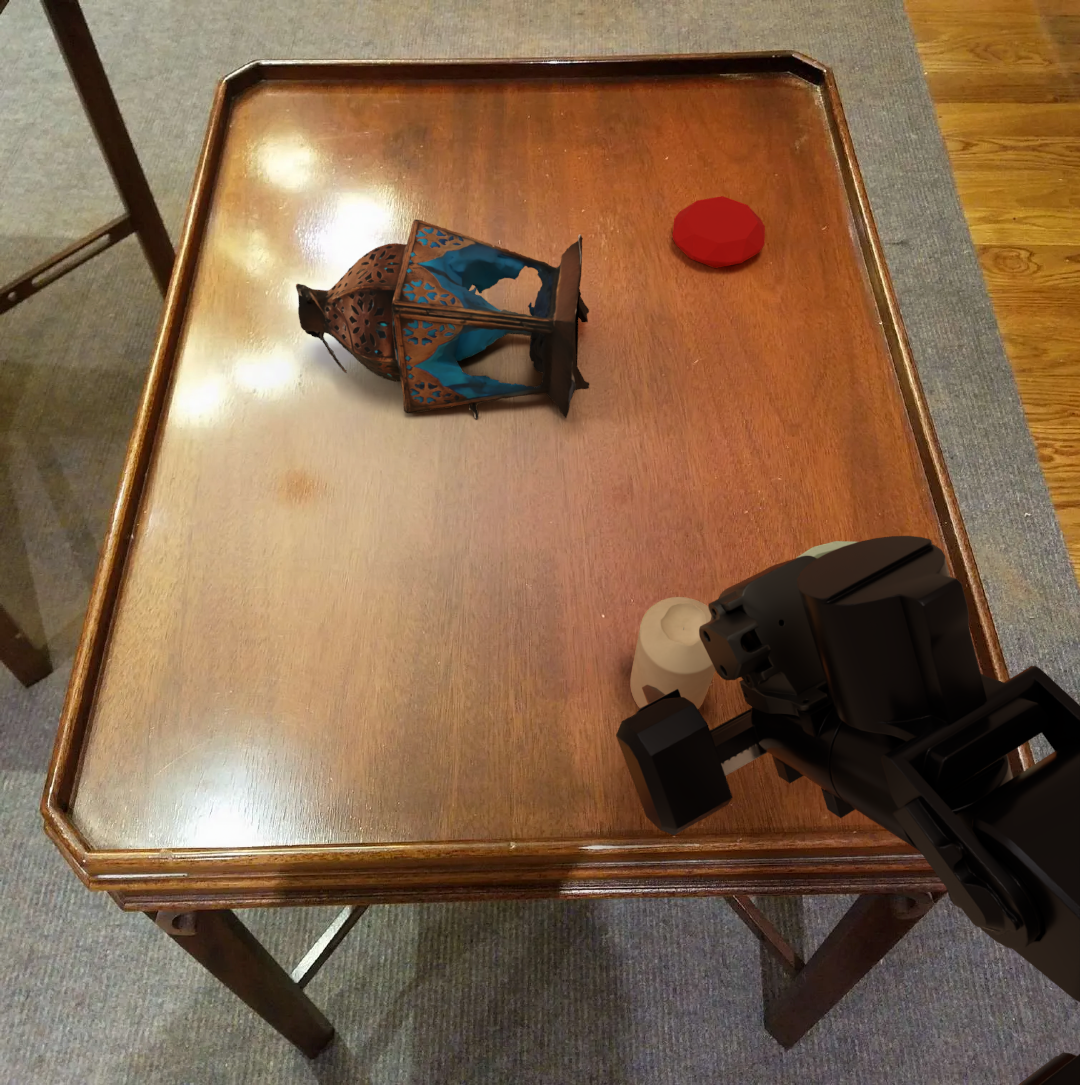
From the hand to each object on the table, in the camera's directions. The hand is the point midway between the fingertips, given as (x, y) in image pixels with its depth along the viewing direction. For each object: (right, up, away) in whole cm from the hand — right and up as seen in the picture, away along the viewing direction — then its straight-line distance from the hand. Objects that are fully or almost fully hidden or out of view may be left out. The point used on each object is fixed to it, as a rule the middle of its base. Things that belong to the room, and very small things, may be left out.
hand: (709, 659), depth 57 cm
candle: (-1, -3, +10) cm, 10 cm away
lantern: (-18, +23, +27) cm, 40 cm away
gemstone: (+7, +37, +35) cm, 52 cm away
